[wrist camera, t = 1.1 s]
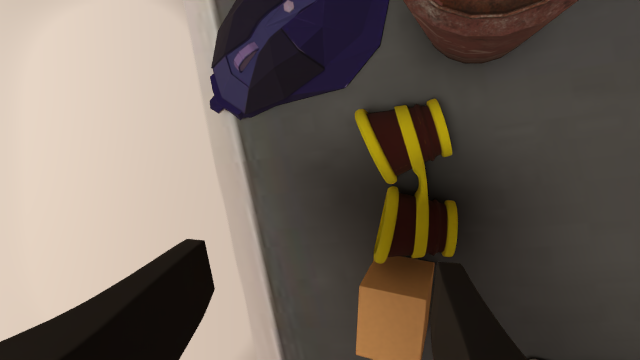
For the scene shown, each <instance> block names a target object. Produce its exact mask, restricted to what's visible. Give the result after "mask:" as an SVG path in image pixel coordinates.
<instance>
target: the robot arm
mask: <svg viewBox="0 0 640 360" xmlns="http://www.w3.org/2000/svg"><path fill="white" fill-rule="evenodd" d="M214 289H215V288H214V283H213V278H212V274H211V269H210V264H209V259H208V255H207V250H206V245H205V241H203V240H193V239H186V240H184V241H183V242H181V243H179V244H178V245H176V246H174V247H173V248H171V249H170V250H168V251H167V252H165V253H164V254H162V255H161V256H159V257H158V258H156V259H155V260H153V261H151V262H150V263H148V264H147V265H145V266H144V267H142V268H141V269H139V270H137V271H136V272H134V273H133V274H131V275H130V276H128V277H126V278H125V279H123V280H121V281H120V282H118V283H116V284H115V285H113V286H111V287H110V288H108V289H107V290H105V291H103V292H101V293H100V294H98V295H96V296H95V297H93V298H91V299H89V300H88V301H86V302H84V303H82V304H80V305H79V306H76V307H75V308H73V309H71V310H69V311H67V312H65V313H63V314H61V315H59V316H57V317H55V318H53V319H51V320H49V321H46V322H44V323H42V324H40V325H38V326H35V327H33V328H31V329H29V330H26V331H24V332H22V333H19V334H18V335H15V336H13V337H11V338H8V339H6V340H3V341H1V342H0V360H179V359H180V357H181V355H182V353H183V352H184V350H185V348H186V347H187V345H188V343H189V341H190V340H191V338H192V336H193V334H194V333H195V331H196V329H197V327H198V326H199V324H200V322H201V320H202V318H203V316H204V314H205V312H206V309H207V307H208V305H209V302H210V300H211V297H212V295H213V292H214ZM430 317H431V340H432V352H433V358H434V360H527V358H526V357H525V356H524V355H523V354H522V352H521V351H520V350H519V349H518V347H517V346H516V345H515V343H514V342H513V341H512V340H511V338H510V337H509V336H508V334H507V333H506V332H505V330H504V329H503V328H502V326H501V325H500V324H499V322H498V321H497V319H496V318H495V317H494V315H493V314H492V312H491V311H490V309H489V308H488V307H487V305H486V304H485V302H484V301H483V299H482V297H481V296H480V294H479V293H478V291H477V290H476V288H475V286H474V285H473V283H472V281H471V280H470V278H469V276H468V275H467V273H466V271H465V269H464V268H463V266H462V265H461V264H458V263H447V262H438V263H437V270H436V277H435V284H434V291H433V298H432V305H431V312H430ZM530 360H537V359H530Z"/></svg>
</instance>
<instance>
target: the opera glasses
mask: <svg viewBox="0 0 640 360" xmlns="http://www.w3.org/2000/svg"><path fill="white" fill-rule="evenodd" d="M394 109H395V110H391V111H383V112H376V113H369V114H368V112H367V111H366V110H364V109H359V110H357V111H356V112H355V119H356V122H357V125H358V128H359V130H360V132H361V135H362V137H363V139H364V141H365V144H366V146H367V148H368V150H369V152H370V154H371V156H372V158H373V160H374V162H375V164H376V166H377V168H378V170H379V172H380V173H381V175H382V177H383V178H384V180H385V181H386V183H388V184H394V183H395V182H396V181H397V176H398V175H400V174H402V173H404V172H406V171H408V170H410V169H413V171H414V172H415V174H416V175H417V176H418V180H419V187H418V190H417V191H416V193H415V195H414V196H411V195H407V194H403V193H399V191H398V188H397V187H395V186H391V187H389V188H388V190H387V194H386V199H385V203H384V208H383V212H382V217H381V221H380V226H379V230H378V234H377V239H376V243H375V248H374V260H375V262H376V263H379V264H382V263H384V262H385V261H386V259H387V257H397V256H407V255H411V257H412V258H420V257H424V256H425V254H427V253H429V254H431V255H432V256H434V255H435V254H436V253H438V252H441V253H442V255H443V256H445V257H452V256H453V255H454V252H455V248H456V243H457V233H458V214H457V207H456V203H455V202H454V201H451V200H446V201H445V202H444V203H443V204H442V203H439V202H438V201H437V200H436V199H434V200H432V201H430V200H428V190H427V179H426V172H425V165H424V162H426V161H428V160H431V161H434V159H435V157H436V156H438V155H440V154H441V155H442V156H443V157H447V156H450V155H452V147H451V142H450V137H449V133H448V130H447V126H446V123H445V120H444V117H443V114H442V111H441V108H440V106H439V103H438V101H437V100H436V99H431V100H429V101H427V105H426V106H419V105H418V104H416V105H415V106H414V107H412V108H408V107H407V106H406V105H403V106H395V107H394Z"/></svg>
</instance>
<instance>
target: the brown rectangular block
mask: <svg viewBox="0 0 640 360" xmlns="http://www.w3.org/2000/svg"><path fill="white" fill-rule="evenodd" d="M434 264H435V263H434V262H429V261H423V260H418V259H412V258H406V257H401V256H397V257H387V259H386V261H385V262H384V263H382V264H379V263H376V262H375V260H373V262H372V264H371V266H370V268H369V269H368V271H367V273H366V275H365V277H364V279H363V280H362V282H361V284H360V286H359V303H358V323H357V342H356V355H359V356H363V357H366V358H370V359H374V360H421V359H422V354H423V349H424V343H425V338H426V332H427V327H428V319H429V310H430V301H431V291H432V282H433V273H434Z"/></svg>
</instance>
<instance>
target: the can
mask: <svg viewBox="0 0 640 360" xmlns="http://www.w3.org/2000/svg"><path fill="white" fill-rule="evenodd" d="M577 1H578V0H404V2H405V4H406V5H407V7H408V8H409V10H410V11H411V13H412V14H413V16H414V17H415V19H416V20H417V22H418V23H419V25H420V26H421V27H422V29H423V30H424V32H425V33H426V35H427V36H428V38H429V39H430V41H431V42H432V44H433V45H434V47H435V48H436V49H437V50H439V51H440V52H441V53H443V54H444V55H445V56H446V57H448V58H450V59H453V60H456V61H459V62H462V63H485V62H488V61H491V60H494V59H498V58H501V57H502V56H504V55H505V54H507V53H509V52H510V51H512V50H513V49H515V48H516V47H518V46H519V45H520V44H522V43H523V42H524V41H526V40H527V39H528V38H530V37H531V36H532V35H533V34H535V33H536V32H537V31H539V30H540V29H541V28H543V27H544V26H545V25H547V24H548V23H549V22H550V21H552V20H553V19H554V18H556V17H557V16H558V15H560V14H561V13H562V12H564V11H565V10H566V9H567V8H569V7H570V6H571V5H573V4H574V3H575V2H577Z"/></svg>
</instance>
